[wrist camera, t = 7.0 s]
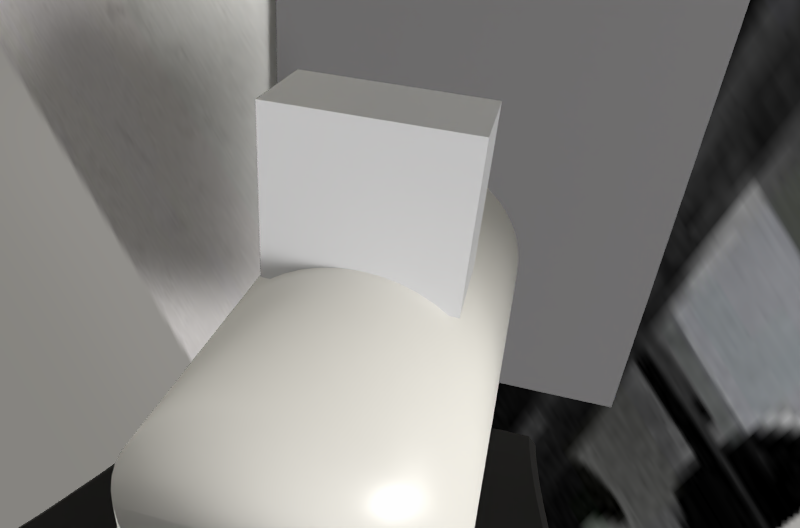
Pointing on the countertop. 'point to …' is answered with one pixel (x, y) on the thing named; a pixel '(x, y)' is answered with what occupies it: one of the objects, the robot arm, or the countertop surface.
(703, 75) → the mat
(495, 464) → the robot arm
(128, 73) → the countertop surface
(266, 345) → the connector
